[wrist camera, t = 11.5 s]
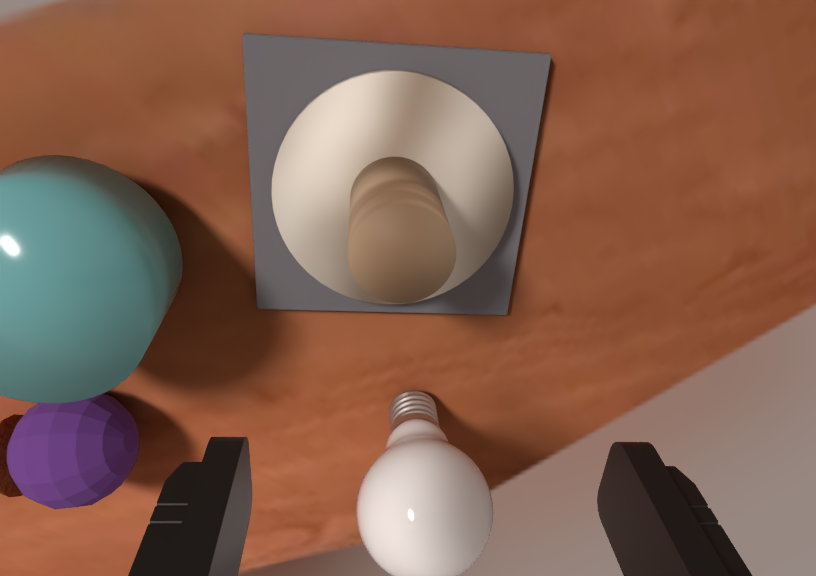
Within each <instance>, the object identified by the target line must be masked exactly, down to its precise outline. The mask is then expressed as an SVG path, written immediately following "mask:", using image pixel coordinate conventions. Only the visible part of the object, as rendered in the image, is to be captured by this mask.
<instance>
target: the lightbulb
mask: <svg viewBox="0 0 816 576" xmlns="http://www.w3.org/2000/svg"><path fill="white" fill-rule="evenodd" d="M389 414H390V428H391V435H390V437H389V439H388V441H387V445H386V449H385V452H384V453H383V454H382V455H380V456H379V458H378V459H377V460H376V461H375V462H374V463H373V464H372V466H371V467H370V469H369V470H368V472H367V473H366V475H365V477H364V479H363V482H362V484H361V487H360V490H359V494H358V499H357V523H358V528H359V532H360V535H361V538H362V541H363V543H364V545H365V547H366V549H367V551H368V552H369V554H370V555H371V557H372V558H373V559H374V561H375V562H376V563H377V564H378V565H379V566H380V567H381V568H383V569H384V570H385V571H387V572H388V573H389V574H391V575H392V576H458V575H460V574H461V573H463V572H464V571H466V570H467V569H468V568H469V567H470V566H471V565H472V564H473V563H474V562H475V561H476V560H477V559H478V557H479V556H480V554H481V553H482V551H483V549H484V548H485V546H486V544H487V541H488V538H489V536H490V532H491V527H492V521H493V505H492V498H491V493H490V490H489V487H488V484H487V482H486V479H485V477H484V475H483V474H482V472H481V470H480V469H479V468H478V466H477V465H476V464H475V463H474V461H473V460H472V459H471V458H470V457H469V456H467V455H466V454H465V453H464V452H463V451H461V450H460V449H458V448H457V447H455V446H453V445H452V444H450V443H449V442H448V440H447V437H446V436H445V434H444V433H443V431H442V430H441V429H440V427H439V422H438V417H437V410H436V405H435V402H434V400H433V399H432V398H431V397H430V396H429V395H428V394H426V393H423V392H420V391H408V392H404V393H402V394H400V395H398V396H397V397H396V398H395V399H394V400H393V401H392V403H391V405H390V408H389Z"/></svg>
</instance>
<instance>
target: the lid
mask: <svg viewBox="0 0 816 576" xmlns="http://www.w3.org/2000/svg"><path fill="white" fill-rule="evenodd" d="M513 193H514V183H513V171H512V166H511V161H510V157H509V154H508V151H507V148H506V145H505V143H504V141H503V139H502V137H501V135H500V133H499V131H498V130H497V128H496V127H495V125H494V124H493V122H492V121H491V120H490V118H489V117H488V116H487V114H486V113H485V112H484V111H483V110H482V109H481V108H480V107H479V106H478V104H477V103H476V102H475V101H474V100H472V99H471V98H470V97H469V96H467V95H466V94H465V93H464V92H463V91H461V90H459V89H458V88H456V87H455V86H453V85H451V84H450V83H448V82H445V81H443V80H441V79H439V78H436V77H434V76H431V75H427V74H423V73H420V72H415V71H407V70H379V71H372V72H366V73H363V74H359V75H356V76H352V77H350V78H347V79H345V80H343V81H341V82H338V83H336V84H334V85H333V86H331V87H330V88H328V89H326V90H325V91H323V92H322V93H320V94H319V95H318V96H317V97H316V98H314V99H313V100H312V101H311V102H310V103H308V105H307V106H306V107H305V108H304V109H303V110H302V111H301V112H300V113H299V115H298V116H297V117H296V119H295V120H294V122H293V123H292V125H291V126H290V128H289V129H288V131H287V134H286V136H285V138H284V140H283V142H282V144H281V146H280V149H279V152H278V155H277V158H276V161H275V165H274V170H273V176H272V194H271V195H272V204H273V211H274V215H275V219H276V223H277V226H278V229H279V231H280V234H281V236H282V239H283V240H284V242H285V244H286V246H287V247H288V249H289V251H290V252H291V254H292V255H293V256H294V258H295V259H296V260H297V262H298V263H299V264H300V265H301V266H302V267H303V268H304V269H305V270H306V271H307V272H308V273H309V274H310V275H311V276H313V277H314V278H315V279H316V280H318V281H319V282H320V283H322V284H323V285H325V286H327V287H328V288H330V289H332V290H334V291H336V292H338V293H340V294H342V295H344V296H347V297H350V298H353V299H356V300H360V301H365V302H370V303H377V304H405V303H412V302H418V301H422V300H425V299H429V298H432V297H435V296H437V295H440V294H442V293H445V292H447V291H448V290H450V289H452V288H454V287H456V286H458V285H459V284H460V283H462V282H463V281H465V280H466V279H468V278H469V277H470V276H471V275H472V274H474V273H475V272H476V271H477V270H478V269H479V268H480V267H481V266H482V265H483V264H484V263H485V262H486V260H487V259H488V258H489V257H490V255H491V254H492V253H493V251H494V250H495V248H496V247H497V245H498V243H499V241H500V240H501V238H502V236H503V234H504V232H505V229H506V226H507V224H508V221H509V218H510V213H511V209H512V204H513Z"/></svg>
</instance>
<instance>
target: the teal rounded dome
mask: <svg viewBox="0 0 816 576" xmlns="http://www.w3.org/2000/svg"><path fill="white" fill-rule="evenodd" d="M182 271H183V260H182V252H181V247H180V243H179V240H178V237H177V234H176V232H175V230H174V228H173V226H172V224H171V222H170V220H169V219H168V217H167V216H166V214H165V212H164V211H163V210H162V208H161V207H160V206H159V205H158V204H157V202H156V201H155V200H154V199H153V198H152V197H151V196H150V195H149V194H148V193H147V192H146V191H145V190H144V189H143V188H141V187H140V186H139V185H138V184H136V183H135V182H133V181H132V180H131V179H129V178H127V177H126V176H124V175H122V174H121V173H119V172H117V171H115V170H113V169H111V168H109V167H107V166H104V165H102V164H99V163H96V162H93V161H90V160H86V159H81V158H77V157H70V156H61V155H50V156H38V157H32V158H28V159H24V160H21V161H18V162H15V163H13V164H11V165H9V166H7V167H5V168H3V169H1V170H0V395H2V396H5V397H9V398H13V399H17V400H22V401H29V402H35V403H68V402H75V401H81V400H85V399H88V398H92V397H95V396H98V395H100V394H103V393H105V392H107V391H109V390H110V389H112V388H114V387H116V386H117V385H119V384H120V383H121V382H122V381H124V380H125V379H126V378H127V377H128V376H129V375H130V374H131V373H132V372H133V371H134V370H135V368H136V367H137V365H138V364H139V363H140V361H141V359H142V358H143V356H144V354H145V352H146V350H147V348H148V347H149V345H150V343H151V341H152V339H153V337H154V336H155V334H156V332H157V330H158V328H159V326H160V324H161V323H162V321H163V319H164V317H165V315H166V313H167V312H168V310H169V308H170V306H171V304H172V302H173V301H174V299H175V296H176V294H177V292H178V290H179V287H180V283H181V280H182Z"/></svg>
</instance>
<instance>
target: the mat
mask: <svg viewBox="0 0 816 576" xmlns="http://www.w3.org/2000/svg"><path fill="white" fill-rule="evenodd" d="M242 38H243V57H244V75H245V94H246V112H247V130H248V149H249V167H250V185H251V204H252V222H253V241H254V259H255V277H256V296H257V309H284V310H325V311H366V312H407V313H447V314H488V315H507V312H508V306H509V300H510V294H511V288H512V282H513V277H514V271H515V265H516V259H517V253H518V247H519V242H520V236H521V230H522V224H523V218H524V212H525V206H526V201H527V195H528V189H529V183H530V177H531V171H532V166H533V160H534V154H535V148H536V142H537V136H538V130H539V125H540V119H541V113H542V107H543V101H544V95H545V89H546V84H547V78H548V72H549V66H550V60H551V55H550V54H548V53H537V52H522V51H507V50H492V49H477V48H462V47H447V46H432V45H417V44H402V43H387V42H372V41H357V40H342V39H327V38H312V37H297V36H282V35H267V34H252V33H244V34H242ZM379 70H407V71H415V72H420V73H423V74H427V75H431V76H434V77H436V78H439V79H441V80H443V81H445V82H448V83H450V84H451V85H453V86H455V87H456V88H458V89H459V90H461V91H463V92H464V93H465V94H466V95H467V96H469V97H470V98H471V99H472V100H474V101H475V102H476V103H477V104H478V106H479V107H480V108H481V109H482V110H483V111H484V112H485V113H486V114H487V116H488V117H489V118H490V120H491V121H492V122H493V124H494V125H495V127H496V128H497V130H498V131H499V133H500V135H501V137H502V139H503V141H504V143H505V145H506V148H507V151H508V154H509V157H510V161H511V166H512V171H513V183H514V193H513V204H512V209H511V213H510V218H509V221H508V224H507V226H506V229H505V232H504V234H503V236H502V238H501V240H500V241H499V243H498V245H497V247H496V248H495V250H494V251H493V253H492V254H491V255H490V257H489V258H488V259H487V260H486V262H485V263H484V264H483V265H482V266H481V267H480V268H479V269H478V270H477V271H476V272H475V273H474V274H472V275H471V276H470V277H469V278H468V279H466V280H465V281H463V282H462V283H460V284H459V285H458V286H456V287H454V288H452V289H450V290H448V291H447V292H445V293H442V294H440V295H437V296H435V297H432V298H429V299H425V300H422V301H418V302H412V303H405V304H377V303H370V302H365V301H360V300H356V299H353V298H350V297H347V296H344V295H342V294H340V293H338V292H336V291H334V290H332V289H330V288H328V287H327V286H325V285H323V284H322V283H320V282H319V281H318V280H316V279H315V278H314V277H313V276H311V275H310V274H309V273H308V272H307V271H306V270H305V269H304V268H303V267H302V266H301V265H300V264H299V263H298V262H297V260H296V259H295V258H294V256H293V255H292V254H291V252H290V251H289V249H288V247H287V246H286V244H285V242H284V240H283V239H282V236H281V234H280V231H279V229H278V226H277V223H276V219H275V215H274V211H273V204H272V195H271V194H272V176H273V170H274V165H275V161H276V158H277V155H278V152H279V149H280V146H281V144H282V142H283V140H284V138H285V136H286V134H287V131H288V129H289V128H290V126H291V125H292V123H293V122H294V120H295V119H296V117H297V116H298V115H299V113H300V112H301V111H302V110H303V109H304V108H305V107H306V106H307V105H308V103H310V102H311V101H312V100H313V99H314V98H316V97H317V96H318V95H319V94H320V93H322V92H323V91H325V90H326V89H328V88H330V87H331V86H333V85H334V84H336V83H338V82H341V81H343V80H345V79H347V78H350V77H352V76H356V75H359V74H363V73H366V72H372V71H379Z"/></svg>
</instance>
